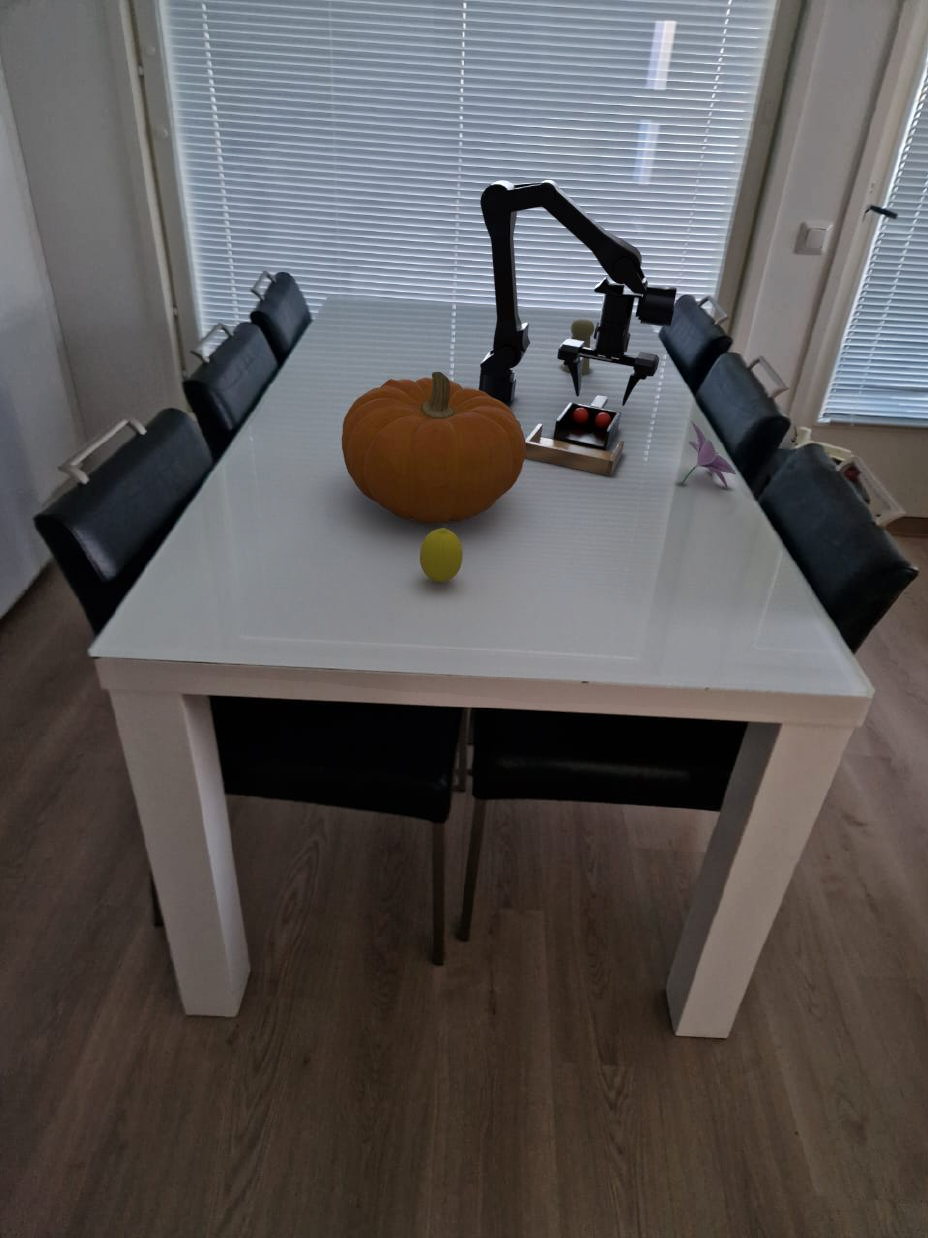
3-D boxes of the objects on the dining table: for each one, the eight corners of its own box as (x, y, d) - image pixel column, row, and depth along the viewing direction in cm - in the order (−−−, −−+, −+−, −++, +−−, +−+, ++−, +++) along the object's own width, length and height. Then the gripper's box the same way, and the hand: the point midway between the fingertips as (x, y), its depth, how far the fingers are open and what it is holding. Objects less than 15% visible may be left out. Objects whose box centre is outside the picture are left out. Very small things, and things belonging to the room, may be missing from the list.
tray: (521, 456, 145) (523, 441, 144) (536, 437, 153) (538, 423, 152) (610, 476, 142) (613, 461, 140) (621, 455, 150) (624, 441, 148)
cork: (588, 375, 187) (596, 325, 180) (561, 371, 187) (568, 321, 181) (590, 367, 192) (598, 318, 185) (564, 363, 192) (571, 315, 186)
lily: (725, 510, 137) (759, 459, 134) (665, 474, 135) (699, 422, 133) (707, 500, 148) (739, 453, 146) (652, 466, 147) (683, 418, 144)
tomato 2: (592, 427, 157) (595, 411, 156) (594, 426, 159) (598, 410, 158) (607, 430, 156) (611, 414, 155) (610, 429, 159) (613, 413, 158)
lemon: (417, 570, 111) (420, 517, 107) (458, 572, 112) (463, 519, 107) (419, 593, 106) (422, 538, 102) (461, 594, 107) (466, 540, 103)
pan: (575, 408, 167) (578, 391, 165) (624, 418, 165) (627, 400, 163) (553, 438, 153) (556, 419, 151) (606, 449, 151) (609, 430, 149)
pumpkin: (361, 453, 141) (363, 334, 130) (522, 472, 140) (538, 354, 129) (320, 531, 118) (318, 394, 106) (513, 555, 117) (531, 419, 105)
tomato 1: (569, 422, 158) (573, 406, 157) (572, 421, 160) (575, 406, 160) (585, 425, 157) (588, 409, 156) (587, 424, 160) (591, 409, 159)
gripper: (670, 318, 159) (653, 397, 167) (576, 302, 163) (564, 380, 172) (662, 332, 150) (644, 414, 159) (562, 314, 154) (551, 396, 163)
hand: (600, 400), depth 163 cm, fingers open, 9 cm apart
